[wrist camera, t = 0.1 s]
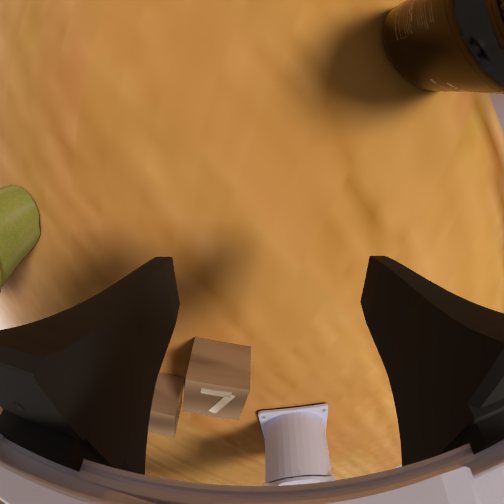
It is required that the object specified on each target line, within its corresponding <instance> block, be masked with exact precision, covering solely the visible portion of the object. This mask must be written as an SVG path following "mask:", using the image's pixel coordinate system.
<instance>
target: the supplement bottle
mask: <svg viewBox="0 0 504 504" xmlns="http://www.w3.org/2000/svg"><path fill="white" fill-rule="evenodd" d="M382 36H383V42H384V46H385V50H386V52H387V54H388V56H389V58H390V60H391V62H392V63H393V65H394V66H395V68H396V69H397V70H398V71H399V72H400V74H401V75H402V76H403V77H405V78H406V79H407V80H408V81H410V82H411V83H412V84H414V85H416V86H418V87H420V88H422V89H426V90H430V91H456V92H481V93H496V94H504V0H406V1H404V2H403V3H401V4H399V5H398V6H396V7H395V8H393V9H392V10H391V11H390V12H389V13H388V15H387V16H386V18H385V20H384V23H383V29H382Z"/></svg>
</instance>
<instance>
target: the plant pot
mask: <svg viewBox="0 0 504 504" xmlns="http://www.w3.org/2000/svg"><path fill="white" fill-rule="evenodd" d="M40 232H41V231H40V228H39V212H38V209H37V206H36V204H35V202H34V200H33V198H32V197H31V196H30V194H29V193H28V192H27V191H26V190H25V189H24V188H22V187H18V186H13V185H10V186H6V187H2V188H0V292H1V288H2V286H3V285H4V283H5V282H6V280H7V279H8V278H9V276H10V275H11V274H12V272H13V271H14V270H15V268H16V267H17V266H18V264H19V263H20V262H21V261H22V259H23V258H24V257H25V256H26V255H27V254H28V252H29V251H30V250H31V249H32V248H33V247H34V245H35V244H36V243H37V241H38V239H39V237H40Z"/></svg>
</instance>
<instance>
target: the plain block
mask: <svg viewBox="0 0 504 504" xmlns="http://www.w3.org/2000/svg"><path fill="white" fill-rule="evenodd" d="M183 379H184V378H183V377H178V376H174V375H169V374H165V373H161V372H159V374H158V377H157V381H156V385H155V390H154V395H153V400H152V406H151V412H150V419H149V426H148V431H149V432H152V433H157V434H161V435H165V436H169V437H174V438H175V433H176V428H177V423H178V418H179V413H180V408H181V404H182V392H183Z"/></svg>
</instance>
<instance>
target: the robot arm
mask: <svg viewBox="0 0 504 504" xmlns="http://www.w3.org/2000/svg"><path fill="white" fill-rule="evenodd" d="M179 304H180V302H179V297H178V291H177V285H176V279H175V273H174V266H173V260H172V257H156V258H154V259H152V260H150V261H148V262H147V263H145V264H144V265H142V266H141V267H139V268H138V269H136V270H135V271H133V272H132V273H130V274H129V275H127V276H126V277H124V278H123V279H121V280H120V281H118V282H117V283H115V284H113V285H112V286H110V287H109V288H107V289H105V290H104V291H102V292H101V293H99V294H97V295H95V296H94V297H92V298H90V299H88V300H86V301H84V302H82V303H80V304H78V305H76V306H74V307H72V308H70V309H67V310H65V311H62V312H60V313H58V314H55V315H53V316H50V317H48V318H45V319H42V320H39V321H36V322H32V323H29V324H26V325H22V326H18V327H13V328H9V329H4V330H0V406H1V407H2V408H3V411H2V413H1V415H0V500H1V501H3V502H4V503H5V504H504V314H503V313H500V312H497V311H494V310H491V309H488V308H485V307H483V306H480V305H477V304H475V303H472V302H470V301H468V300H466V299H463V298H461V297H459V296H457V295H455V294H453V293H451V292H449V291H447V290H445V289H443V288H441V287H440V286H438V285H436V284H434V283H432V282H431V281H429V280H427V279H426V278H424V277H422V276H420V275H419V274H417V273H415V272H414V271H412V270H410V269H409V268H407V267H405V266H404V265H402V264H400V263H398V262H396V261H395V260H393V259H391V258H388V257H386V256H370V258H369V263H368V268H367V273H366V278H365V283H364V288H363V293H362V297H361V305H362V309H363V313H364V316H365V320H366V323H367V326H368V328H369V330H370V333H371V335H372V338H373V340H374V342H375V345H376V347H377V349H378V352H379V354H380V356H381V359H382V361H383V364H384V366H385V369H386V371H387V374H388V377H389V381H390V385H391V389H392V393H393V397H394V402H395V407H396V412H397V418H398V424H399V432H400V440H401V453H402V467H399V468H395V469H391V470H387V471H383V472H378V473H374V474H369V475H364V476H359V477H354V478H348V479H342V480H335V476H332V473H331V466H330V459H329V453H328V446H327V440H326V433H325V432H326V424H327V415H328V404H318V405H311V406H303V407H295V408H286V409H275V410H263V411H259V412H258V416H259V420H260V424H261V428H262V432H263V436H264V439H265V468H266V483H264V484H263V486H230V485H214V484H202V483H192V482H184V481H177V480H170V479H164V478H158V477H153V476H147V475H145V456H146V444H147V434H148V426H149V419H150V412H151V406H152V400H153V395H154V390H155V385H156V381H157V377H158V374H159V370H160V368H161V365H162V362H163V359H164V356H165V353H166V350H167V348H168V345H169V342H170V339H171V336H172V333H173V330H174V327H175V324H176V319H177V315H178V309H179Z"/></svg>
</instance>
